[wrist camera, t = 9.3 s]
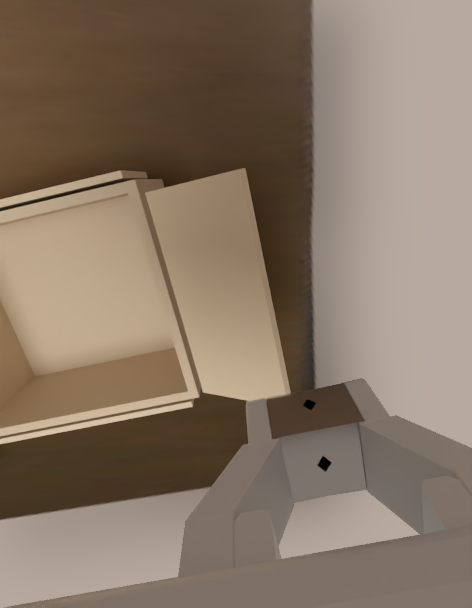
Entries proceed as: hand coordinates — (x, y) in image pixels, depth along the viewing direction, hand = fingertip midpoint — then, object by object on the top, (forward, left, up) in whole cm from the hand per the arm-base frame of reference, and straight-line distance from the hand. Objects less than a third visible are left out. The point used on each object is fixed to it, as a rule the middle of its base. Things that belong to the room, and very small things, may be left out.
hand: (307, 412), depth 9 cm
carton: (-14, 0, -21) cm, 25 cm away
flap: (-3, 0, -11) cm, 11 cm away
